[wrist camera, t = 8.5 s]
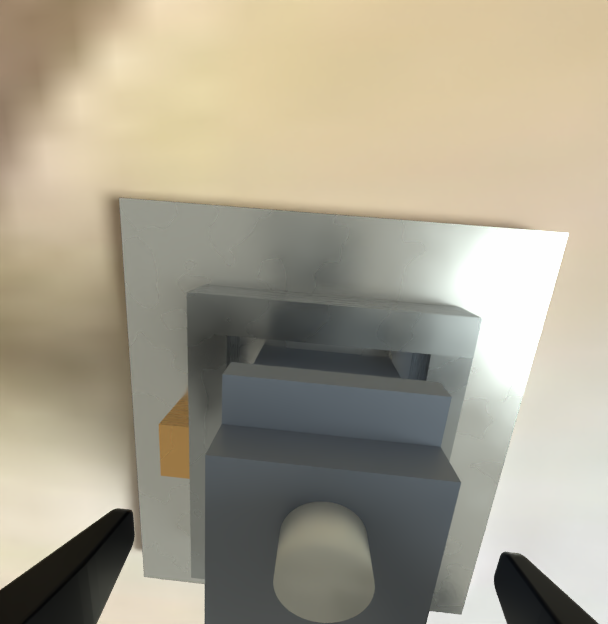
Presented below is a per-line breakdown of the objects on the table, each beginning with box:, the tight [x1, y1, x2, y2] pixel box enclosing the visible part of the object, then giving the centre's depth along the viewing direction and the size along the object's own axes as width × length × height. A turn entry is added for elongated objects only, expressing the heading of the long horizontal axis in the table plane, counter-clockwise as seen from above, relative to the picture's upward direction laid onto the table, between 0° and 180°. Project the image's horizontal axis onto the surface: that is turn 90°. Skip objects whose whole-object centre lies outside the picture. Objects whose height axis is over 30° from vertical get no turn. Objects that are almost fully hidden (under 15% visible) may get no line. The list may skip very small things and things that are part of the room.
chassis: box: [119, 198, 569, 614], centre depth 11 cm, size 16×14×2 cm
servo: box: [205, 345, 461, 624], centre depth 8 cm, size 9×4×6 cm, turn 175°
